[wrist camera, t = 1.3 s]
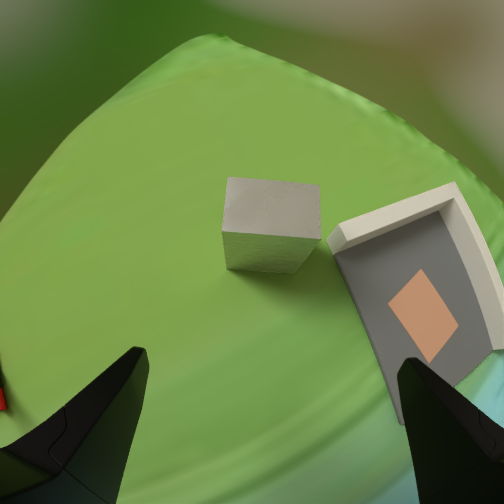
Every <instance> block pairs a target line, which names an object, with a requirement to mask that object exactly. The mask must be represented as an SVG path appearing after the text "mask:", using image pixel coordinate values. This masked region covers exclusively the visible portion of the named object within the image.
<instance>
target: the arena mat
mask: <svg viewBox="0 0 504 504" xmlns="http://www.w3.org/2000/svg"><path fill="white" fill-rule="evenodd" d="M333 256H334V258H335V261H336V263H337V265H338V267H339V269H340V272H341V274H342V276H343V278H344V280H345V283H346V285H347V287H348V290H349V292H350V294H351V296H352V299H353V301H354V303H355V306H356V308H357V311H358V313H359V315H360V318H361V320H362V323H363V325H364V328H365V330H366V332H367V335H368V337H369V340H370V343H371V345H372V348H373V350H374V353H375V355H376V358H377V361H378V363H379V366H380V369H381V371H382V374H383V377H384V380H385V382H386V385H387V388H388V391H389V394H390V397H391V400H392V403H393V405H394V408H395V411H396V414H397V418H398V421H399V424H401V425H403V424H405V423H404V419H403V415H402V409H401V403H400V396H399V389H398V383H397V373H398V371H399V369H400V367H401V365H402V364H403V362H404V360H405V359H406V358H408V357H417V358H418V359H420V360H421V361H422V362H423V363H424V364H426V365H427V366H428V367H429V368H431V369H432V370H433V371H434V372H435V373H437V374H438V375H439V376H440V377H441V378H443V379H444V380H445V381H446V382H447V383H449V384H450V385H451V386H452V387H454V386H455V385H456V384H457V383H459V382H460V381H461V380H462V379H463V378H464V377H465V376H467V375H468V374H469V373H470V372H471V371H472V370H473V369H474V368H475V367H476V366H477V365H479V364H480V363H481V362H482V361H483V360H484V359H485V358H486V357H487V356H488V355H489V354H490V353H491V352H492V351H493V348H492V344H491V340H490V337H489V333H488V330H487V326H486V323H485V320H484V317H483V314H482V311H481V308H480V305H479V302H478V299H477V296H476V293H475V291H474V288H473V285H472V283H471V280H470V278H469V275H468V273H467V270H466V268H465V266H464V263H463V261H462V259H461V256H460V254H459V252H458V250H457V247H456V245H455V243H454V241H453V239H452V237H451V235H450V233H449V230H448V228H447V226H446V224H445V222H444V221H443V219H442V217H441V215H440V213H439V211H435V212H433V213H431V214H429V215H426V216H424V217H422V218H419V219H417V220H415V221H412V222H410V223H408V224H405V225H403V226H401V227H398V228H396V229H394V230H391V231H389V232H387V233H384V234H382V235H379V236H377V237H375V238H372V239H370V240H367V241H365V242H362V243H360V244H358V245H355V246H353V247H350V248H348V249H345V250H343V251H340V252H338V253H335V254H334V255H333Z"/></svg>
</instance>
